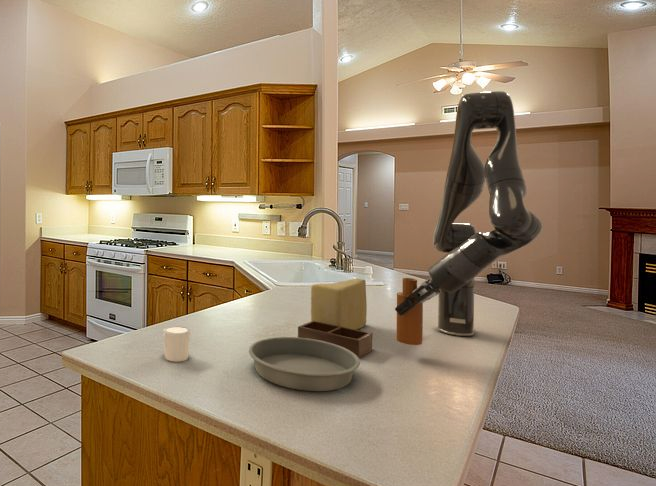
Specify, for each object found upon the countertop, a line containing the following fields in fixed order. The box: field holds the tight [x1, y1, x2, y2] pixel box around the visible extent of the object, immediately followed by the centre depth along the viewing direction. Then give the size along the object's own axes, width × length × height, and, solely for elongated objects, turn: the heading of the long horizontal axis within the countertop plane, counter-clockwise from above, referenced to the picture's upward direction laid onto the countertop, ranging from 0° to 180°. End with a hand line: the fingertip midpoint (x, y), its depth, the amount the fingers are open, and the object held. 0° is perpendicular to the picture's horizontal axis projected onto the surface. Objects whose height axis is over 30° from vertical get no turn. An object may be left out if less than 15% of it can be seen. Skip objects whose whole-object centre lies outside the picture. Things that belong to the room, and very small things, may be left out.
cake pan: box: [248, 336, 361, 392], centre depth 103 cm, size 25×25×4 cm
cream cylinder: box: [162, 325, 191, 363], centre depth 112 cm, size 7×7×7 cm
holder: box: [297, 321, 373, 359], centre depth 122 cm, size 9×17×5 cm, turn 46°
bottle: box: [396, 277, 424, 346], centre depth 115 cm, size 6×6×16 cm
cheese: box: [310, 278, 368, 330], centre depth 137 cm, size 22×10×15 cm, turn 128°
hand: (402, 309), depth 116 cm, fingers closed on bottle, 6 cm apart
